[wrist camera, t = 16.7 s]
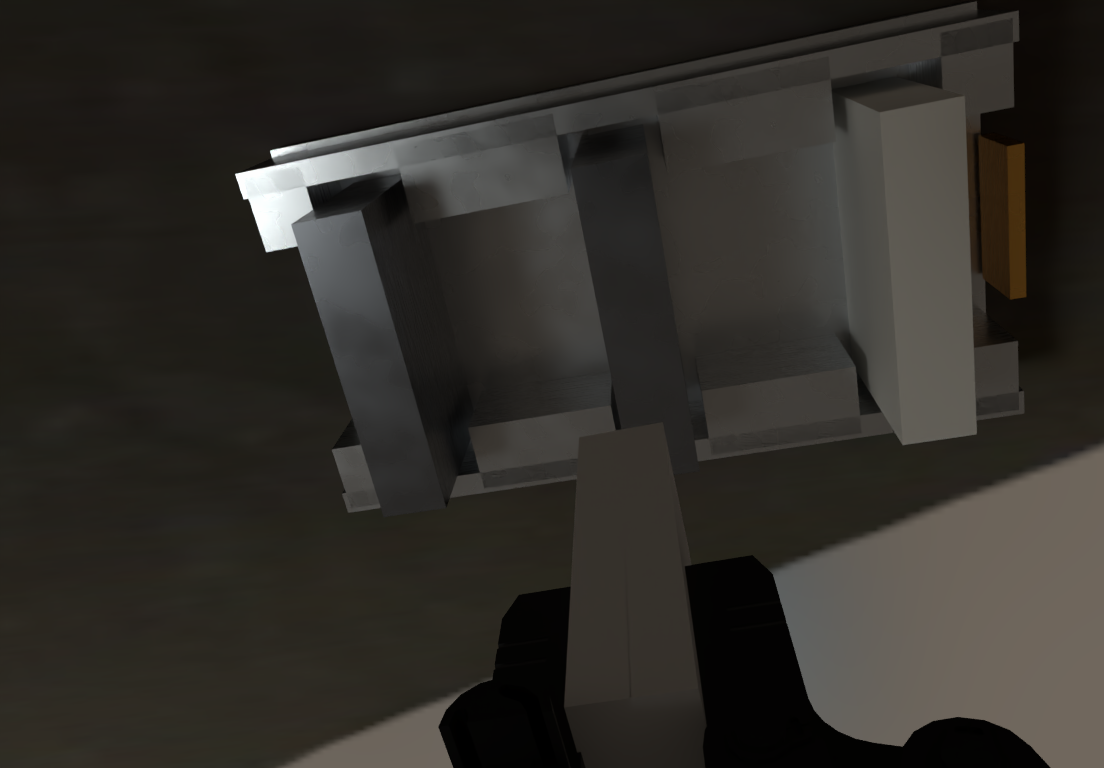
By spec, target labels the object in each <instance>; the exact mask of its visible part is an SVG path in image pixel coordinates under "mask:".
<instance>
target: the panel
mask: <svg viewBox="0 0 1104 768" xmlns="http://www.w3.org/2000/svg"><path fill="white" fill-rule="evenodd" d="M831 90H832V101H833V112H834V124H835V135H836V142H833V151H834V162H835V173H836V184H837V195H838V207H839V218H840V229H841V240H842V252H843V263H844V274H845V285H846V296H847V308H848V319H849V330H850V341H851V352H852V361H853V363H854V365H855V366H856V371H857V373H858V374H859V376H860V377H861V379H862V381H863V382H864V384H865V385H866V387H867V389H868V390H869V392H870V393H871V395H872V397H873V398H874V400H875V401H876V403H877V405H878V406H879V408H880V409H881V411H882V413H883V414H884V416H885V417H886V419H887V421H888V422H889V424H890V425H891V427H892V429H893V430H894V432H895V433H896V435H897V437H898V438H899V440H900V441H901V443H902V445H906V444H913V443H920V442H927V441H934V440H941V439H948V438H955V437H962V436H968V435H975V434H977V426H976V398H975V370H974V342H973V313H972V285H971V257H970V229H969V200H968V172H967V144H966V115H965V96H964V95H961V94H957V93H953V92H950V91H946V90H943V89H939V88H935V87H932V86H928V85H924V84H921V83H917V82H913V81H910V80H906V79H903V78H899V77H890V78H885V79H880V80H875V81H870V82H865V83H860V84H856V85H851V86H846V87H841V88H836V89H831Z"/></svg>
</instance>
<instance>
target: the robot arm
mask: <svg viewBox="0 0 1104 768" xmlns="http://www.w3.org/2000/svg"><path fill="white" fill-rule="evenodd" d="M498 646H499V649H497V654H496V661H495V670H494V673H493V679H492V680H490V681H487V682H483V683H480V684H478V685H477V686H475V687H473V688H471V689H470V690H468V691H466V692H465V693H463V694H461V695H460V696H459V697H458V698H457V699H456V700H455V701H454V702H453V703H452V704H451V705H450V707H448V709H447V710H446V712H445V714H444V716H443V718H442V720H441V723H440V725H439V729H440V732H441V735H442V738H443V741H444V743H445V746H446V749H447V752H448V754H449V757H450V760H451V762H452V765H453V768H1050V767H1049V766H1048V765H1047V763H1045V761H1044V760H1043V759H1042V758H1041V757H1040V756H1039V755H1038V754H1037V753H1036V752H1035V751H1034V750H1033V748H1032V747H1031V746H1030V745H1028V744H1027V743H1026V742H1024V741H1023V740H1022V739H1021V738H1019V737H1018V736H1017V735H1015V734H1014V733H1013V732H1011V731H1010V730H1008V729H1005V728H1003V727H1000V726H998V725H995V724H993V723H990V722H988V721H985V720H978V719H970V718H961V717H955V718H950V719H943V720H938V721H933V722H931V723H929V724H927V725H925V726H923V727H921V728H920V729H918V730H916V731H914V732H913V734H912V735H911V737H910V738H909V739H908V741H907V742H906V743H905V745H904V746H903V747H901V746H893V745H885V744H877V743H872V742H868V741H863V740H859V739H855V738H852V737H850V736H848V735H845V734H843V733H841V732H838V731H837V730H835V729H834V728H832V727H831V726H830V725H828V724H827V723H825V722H824V721H823V720H822V719H821V718H820V717H819V715H818V714H817V713H816V712H815V711H814V709H813V707H812V705H811V703H810V701H809V699H808V696H807V692H806V689H805V685H804V682H803V678H802V675H801V671H800V668H799V664H798V661H797V657H796V654H795V650H794V647H793V643H792V640H791V637H790V633H789V629H788V626H787V624H786V619H785V615H784V612H783V608H782V605H781V602H780V598H779V594H778V591H777V587H776V584H775V580H774V577H773V574H772V573H771V572H770V571H769V570H768V569H767V568H766V567H764V566H763V565H762V564H761V563H760V562H759V561H758V560H757V559H756V558H755V557H754V556H753V555H751V556H745V557H738V558H732V559H726V560H720V561H713V562H707V563H701V564H695V565H691V561H690V554H689V549H688V544H687V539H686V534H685V529H684V524H683V519H682V514H681V509H680V504H679V500H678V495H677V490H676V485H675V480H674V475H673V470H672V465H671V460H670V455H669V451H668V446H667V441H666V436H665V431H664V426H663V422H660V423H655V424H649V425H644V426H638V427H633V428H627V429H622V430H616V431H611V432H606V433H600V434H595V435H589V436H584V437H579V448H578V466H577V484H576V502H575V520H574V538H573V556H572V574H571V587H566V588H559V589H553V590H547V591H541V592H534V593H528V594H522V595H519V596H518V597H517V598H516V600H515V601H514V603H513V604H512V606H511V607H510V608H509V610H508V611H507V613H506V614H505V616H504V617H503V619H502V623H501V629H500V636H499V642H498Z"/></svg>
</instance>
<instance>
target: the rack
mask: <svg viewBox="0 0 1104 768" xmlns="http://www.w3.org/2000/svg"><path fill="white" fill-rule="evenodd" d="M1017 41H1019V10H977V1H968V2H964V3H959V4H954V5H950V6H945V7H940V8H935V9H931V10H926V11H921V12H917V13H912V14H907V15H902V16H898V17H893V18H888V19H884V20H879V21H874V22H869V23H865V24H860V25H855V26H850V27H846V28H841V29H836V30H832V31H827V32H822V33H817V34H813V35H808V36H803V37H799V38H794V39H789V40H784V41H780V42H775V43H770V44H765V45H761V46H756V47H751V48H747V49H742V50H737V51H732V52H728V53H723V54H718V55H714V56H709V57H704V58H699V59H695V60H690V61H685V62H681V63H676V64H671V65H666V66H662V67H657V68H652V69H647V70H643V71H638V72H633V73H629V74H624V75H619V76H614V77H610V78H605V79H600V80H596V81H591V82H586V83H581V84H577V85H572V86H567V87H562V88H558V89H553V90H548V91H544V92H539V93H534V94H529V95H525V96H520V97H515V98H511V99H506V100H501V101H496V102H492V103H487V104H482V105H478V106H473V107H468V108H463V109H459V110H454V111H449V112H444V113H440V114H435V115H430V116H426V117H421V118H416V119H411V120H407V121H402V122H397V123H393V124H388V125H383V126H378V127H374V128H369V129H364V130H359V131H355V132H350V133H345V134H341V135H336V136H331V137H326V138H322V139H317V140H312V141H308V142H303V143H298V144H293V145H289V146H284V147H279V148H276V149H273V150H271V151H270V152H271V155H272V158H271V159H268V160H266V161H264V162H262V163H259V164H257V165H255V166H253V167H250V168H248V169H246V170H243V171H241V172H239V173H237V174H236V177H237V180H238V183H239V186H240V189H241V192H242V195H243V198H244V199H248V198H249V201H250V204H251V207H252V210H253V213H254V216H255V219H256V222H257V225H258V228H259V231H260V234H261V237H262V240H263V243H264V246H265V249H266V252H270V251H275V250H280V249H285V248H290V247H295V246H298V248H299V251H300V255H301V258H302V261H303V264H304V267H305V270H306V274H307V277H308V280H309V283H310V286H311V289H312V292H313V296H314V299H315V302H316V305H317V308H318V311H319V314H320V318H321V321H322V324H323V327H324V330H325V333H326V337H327V340H328V343H329V346H330V349H331V352H332V355H333V359H334V362H335V365H336V368H337V371H338V374H339V378H340V381H341V384H342V387H343V390H344V393H345V396H346V400H347V403H348V406H349V409H350V412H351V415H352V420H351V421H350V423H349V424H348V426H347V427H346V429H345V430H344V432H343V433H342V435H341V436H340V438H339V439H338V441H337V442H336V444H335V445H334V447H333V448H332V451H333V454H334V457H335V461H336V464H337V467H338V470H339V473H340V476H341V479H342V482H343V485H344V488H345V489H344V491H343V493H342V495H343V498H344V501H345V504H346V507H347V510H348V513H349V512H356V511H363V510H370V509H376V508H381V510H382V513H383V516H384V517H387V516H394V515H400V514H407V513H414V512H421V511H428V510H435V509H442V508H446V507H447V504H448V501H449V499H450V498H451V497H458V496H465V495H472V494H478V493H485V492H492V491H499V490H506V489H513V488H519V487H526V486H533V485H540V484H547V483H553V482H560V481H567V480H574V479H577V466H578V448H579V437H584V436H589V435H595V434H600V433H606V432H611V431H616V430H622V429H627V428H633V427H638V426H644V425H649V424H655V423H660V422H663V426H664V431H665V436H666V441H667V446H668V451H669V455H670V460H671V465H672V470H673V475H676V474H683V473H690V472H696V471H699V464H698V461H703V460H710V459H717V458H724V457H730V456H737V455H744V454H751V453H758V452H764V451H771V450H778V449H785V448H792V447H798V446H805V445H812V444H819V443H826V442H832V441H839V440H846V439H853V438H860V437H866V436H873V435H880V434H887V433H894V430H893V429H892V427H891V425H890V424H889V422H888V421H887V419H886V417H885V416H884V414H883V413H882V411H881V409H880V408H879V406H878V405H877V403H876V401H875V400H874V398H873V397H872V395H871V393H870V392H869V390H868V389H867V387H866V385H865V384H864V382H863V381H862V379H861V377H860V376H859V374H858V373H857V371H856V366H855V365H854V363H853V361H852V352H851V341H850V330H849V319H848V308H847V296H846V285H845V274H844V263H843V252H842V240H841V229H840V218H839V207H838V195H837V184H836V173H835V162H834V151H833V142H836V135H835V124H834V112H833V101H832V90H831V89H836V88H841V87H846V86H851V85H856V84H860V83H865V82H870V81H875V80H880V79H885V78H890V77H899V78H903V79H906V80H910V81H913V82H917V83H921V84H924V85H928V86H932V87H935V88H939V89H943V90H946V91H950V92H953V93H957V94H961V95H964V96H965V115H966V144H967V172H968V200H969V229H970V257H971V285H972V313H973V342H974V370H975V398H976V420H982V419H989V418H996V417H1003V416H1009V415H1016V414H1023V413H1024V391H1023V390H1022V389H1021V388H1020V387H1019V381H1018V341H1017V340H1016V339H1015V338H1014V337H1013V336H1012V335H1010V334H1009V333H1008V332H1007V331H1006V330H1005V329H1003V328H1002V327H1001V326H1000V325H999V324H998V323H996V322H995V321H994V320H993V319H992V318H991V317H989V316H988V315H987V314H986V295H985V280H986V281H987V282H988V283H989V284H991V285H992V286H993V287H995V288H996V289H997V290H998V291H1000V292H1001V293H1002V294H1004V295H1005V296H1006V297H1008V298H1009V299H1010V300H1011V299H1017V298H1023V297H1026V231H1025V148H1024V143H1023V142H1020V141H1017V140H1014V139H1011V138H1008V137H1006V136H1003V135H1000V134H997V133H994V132H993V133H988V134H983V135H981V125H980V113H985V112H991V111H996V110H1001V109H1006V108H1011V107H1014V66H1013V42H1017Z"/></svg>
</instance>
